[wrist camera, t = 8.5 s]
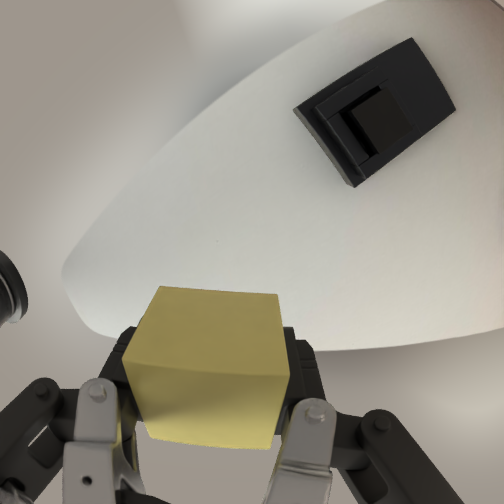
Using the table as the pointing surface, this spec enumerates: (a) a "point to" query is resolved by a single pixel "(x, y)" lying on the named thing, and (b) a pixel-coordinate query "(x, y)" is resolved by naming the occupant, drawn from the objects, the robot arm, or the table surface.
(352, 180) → the black hollow base
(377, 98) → the black square block
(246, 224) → the table surface
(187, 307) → the note cube
